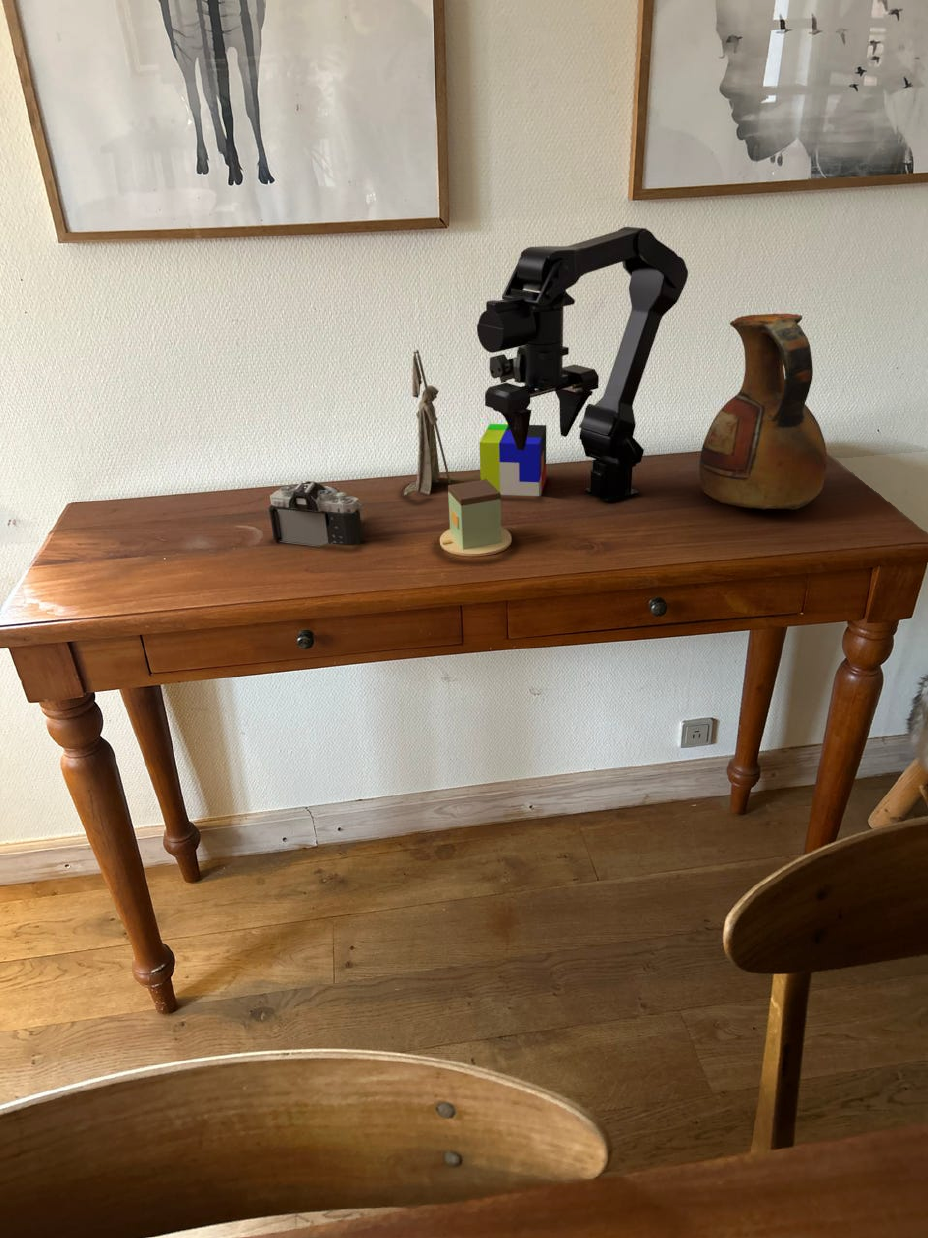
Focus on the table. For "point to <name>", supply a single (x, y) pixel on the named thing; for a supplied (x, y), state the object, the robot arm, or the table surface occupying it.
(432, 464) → the wizard figurine
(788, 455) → the ceramic pitcher
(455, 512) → the box
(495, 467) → the puzzle toy
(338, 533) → the camera
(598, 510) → the table surface
